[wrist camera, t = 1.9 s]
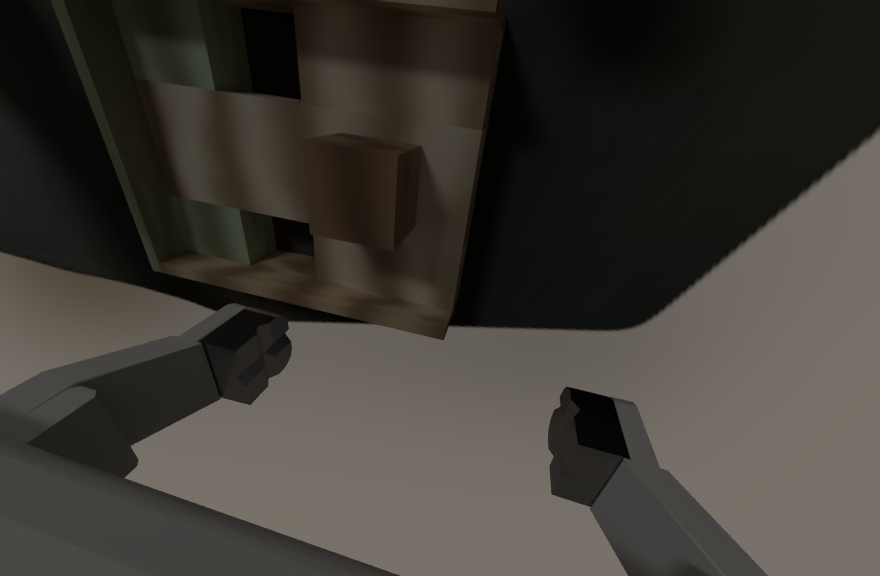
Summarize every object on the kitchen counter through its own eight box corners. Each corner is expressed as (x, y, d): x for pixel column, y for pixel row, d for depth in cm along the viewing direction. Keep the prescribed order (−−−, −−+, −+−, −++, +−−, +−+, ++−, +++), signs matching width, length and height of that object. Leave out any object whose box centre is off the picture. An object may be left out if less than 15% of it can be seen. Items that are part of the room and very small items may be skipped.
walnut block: (344, 213, 27) (310, 234, 22) (341, 132, 24) (301, 139, 19) (414, 227, 26) (393, 251, 22) (421, 145, 23) (398, 155, 19)
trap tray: (213, 243, 36) (152, 270, 31) (146, -19, 25) (29, -57, 19) (458, 297, 33) (443, 340, 27) (506, 18, 22) (499, -15, 16)
